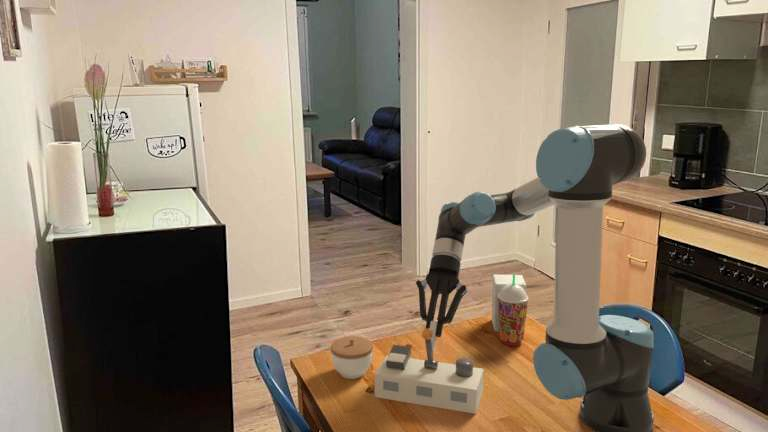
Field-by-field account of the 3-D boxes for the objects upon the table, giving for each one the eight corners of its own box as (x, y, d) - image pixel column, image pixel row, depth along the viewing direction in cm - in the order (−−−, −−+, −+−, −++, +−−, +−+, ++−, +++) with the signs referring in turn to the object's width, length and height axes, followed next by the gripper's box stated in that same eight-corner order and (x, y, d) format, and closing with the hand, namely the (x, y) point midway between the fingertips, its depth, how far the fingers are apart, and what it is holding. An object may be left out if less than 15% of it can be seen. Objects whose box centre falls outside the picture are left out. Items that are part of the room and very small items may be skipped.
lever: (438, 363, 142) (434, 326, 134) (436, 372, 140) (432, 334, 132) (426, 361, 143) (421, 324, 135) (424, 370, 141) (419, 333, 133)
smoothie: (489, 341, 168) (492, 274, 163) (507, 332, 173) (510, 268, 168) (514, 351, 162) (517, 282, 157) (531, 341, 167) (535, 275, 162)
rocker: (411, 352, 145) (410, 346, 144) (404, 369, 140) (403, 362, 139) (394, 350, 147) (393, 343, 146) (386, 367, 141) (385, 360, 140)
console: (482, 391, 142) (483, 368, 140) (475, 414, 132) (476, 390, 131) (387, 376, 149) (387, 354, 148) (374, 397, 140) (374, 374, 138)
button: (474, 370, 140) (474, 359, 139) (471, 378, 136) (471, 367, 135) (457, 367, 141) (457, 357, 140) (454, 376, 137) (454, 365, 136)
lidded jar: (352, 388, 144) (351, 353, 142) (322, 373, 151) (321, 340, 149) (382, 372, 151) (381, 338, 149) (352, 358, 158) (351, 326, 156)
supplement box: (520, 320, 182) (523, 274, 178) (524, 332, 173) (527, 284, 170) (491, 319, 183) (492, 273, 179) (493, 331, 174) (495, 283, 170)
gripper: (473, 268, 152) (459, 357, 141) (423, 263, 156) (406, 350, 145) (470, 255, 145) (455, 347, 134) (418, 250, 149) (400, 340, 138)
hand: (430, 349), depth 140 cm, fingers closed
